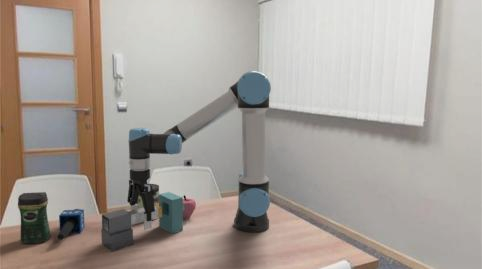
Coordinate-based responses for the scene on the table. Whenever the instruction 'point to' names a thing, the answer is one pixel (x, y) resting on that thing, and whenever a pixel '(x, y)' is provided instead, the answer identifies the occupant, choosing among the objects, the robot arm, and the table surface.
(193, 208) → the apple
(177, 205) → the socket block
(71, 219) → the microphone
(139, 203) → the coffee can
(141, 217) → the slip tube
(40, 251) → the table surface
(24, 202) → the coffee jar
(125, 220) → the stand
